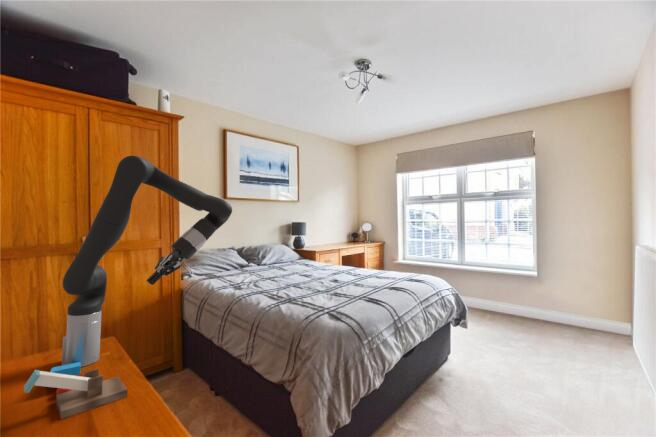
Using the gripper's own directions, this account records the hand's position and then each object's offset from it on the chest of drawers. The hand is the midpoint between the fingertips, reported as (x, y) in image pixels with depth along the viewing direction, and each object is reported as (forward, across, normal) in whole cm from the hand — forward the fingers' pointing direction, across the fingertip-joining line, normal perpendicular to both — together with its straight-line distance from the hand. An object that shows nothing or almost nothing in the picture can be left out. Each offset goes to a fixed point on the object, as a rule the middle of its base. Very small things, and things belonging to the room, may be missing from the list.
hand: (149, 283), depth 96 cm
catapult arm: (+28, +4, +8) cm, 30 cm away
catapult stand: (+31, +4, +11) cm, 33 cm away
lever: (+34, -11, +9) cm, 37 cm away
